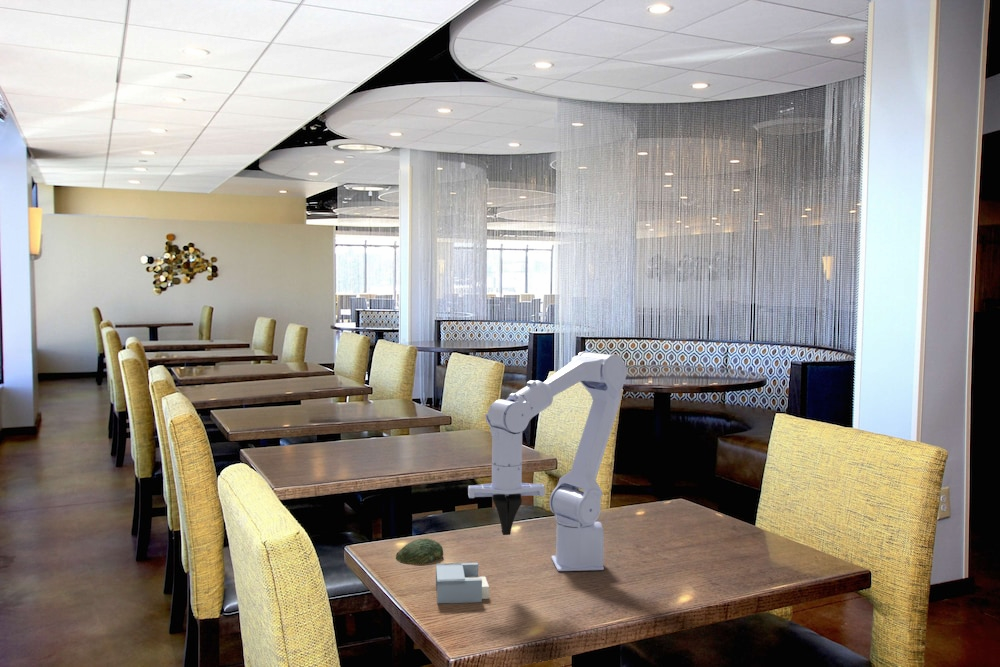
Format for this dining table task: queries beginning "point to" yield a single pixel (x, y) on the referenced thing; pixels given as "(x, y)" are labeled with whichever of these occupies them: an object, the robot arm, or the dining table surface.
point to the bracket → (458, 583)
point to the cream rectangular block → (483, 587)
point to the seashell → (420, 552)
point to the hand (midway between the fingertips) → (506, 533)
